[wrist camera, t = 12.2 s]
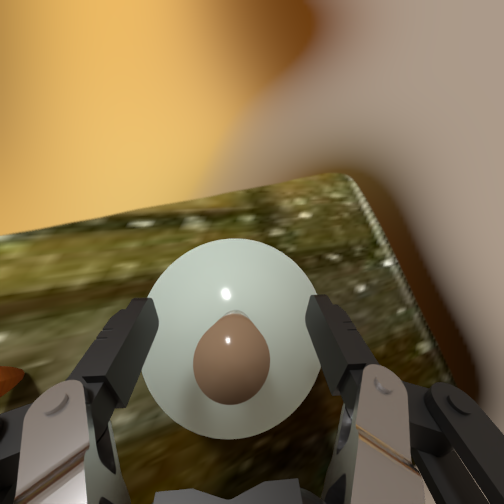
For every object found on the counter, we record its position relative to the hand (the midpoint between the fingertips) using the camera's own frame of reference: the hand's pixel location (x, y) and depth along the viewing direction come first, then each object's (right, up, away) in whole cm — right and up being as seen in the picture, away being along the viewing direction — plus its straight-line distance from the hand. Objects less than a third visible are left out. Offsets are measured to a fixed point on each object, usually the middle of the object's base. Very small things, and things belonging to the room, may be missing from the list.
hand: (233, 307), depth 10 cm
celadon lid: (0, -3, +6) cm, 6 cm away
